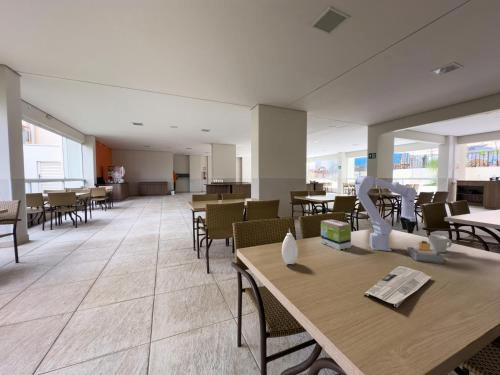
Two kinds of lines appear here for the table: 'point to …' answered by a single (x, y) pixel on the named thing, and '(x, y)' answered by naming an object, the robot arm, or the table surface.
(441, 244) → the cup
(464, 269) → the table surface
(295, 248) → the sauce bottle
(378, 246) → the robot arm
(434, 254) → the walled box
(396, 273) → the newspaper
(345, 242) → the tea box
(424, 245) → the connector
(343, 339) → the table surface
